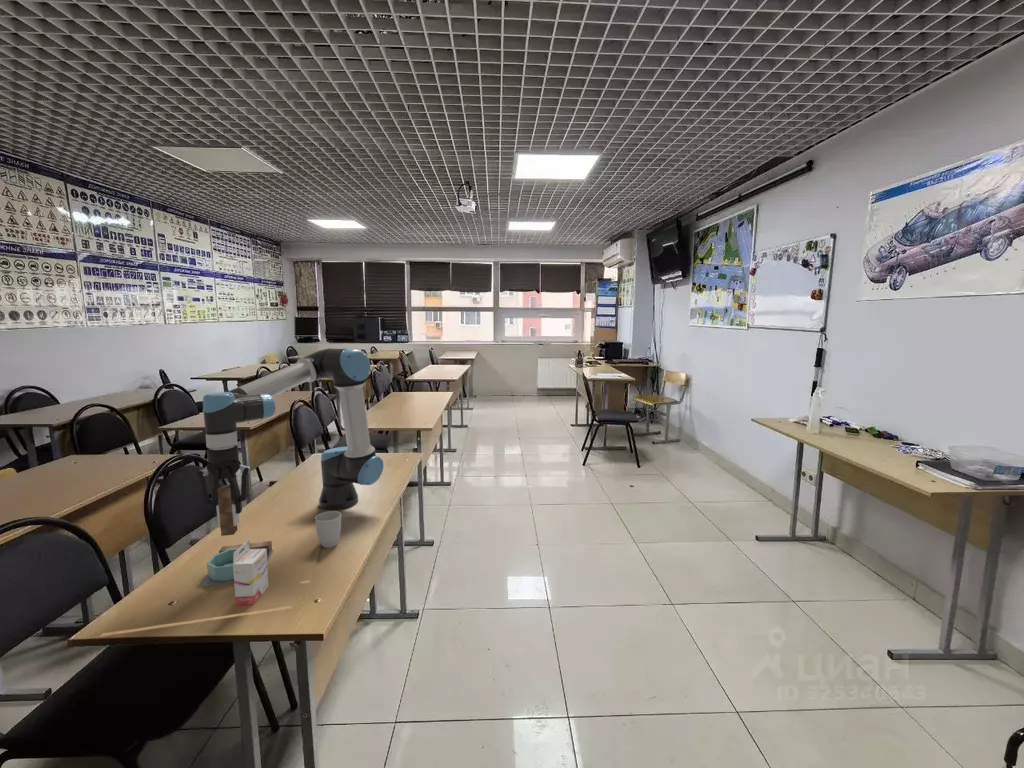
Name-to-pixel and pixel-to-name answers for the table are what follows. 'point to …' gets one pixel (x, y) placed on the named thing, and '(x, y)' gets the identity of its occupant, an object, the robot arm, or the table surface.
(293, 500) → the table surface
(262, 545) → the long wooden bar
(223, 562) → the teal octagonal bowl
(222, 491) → the brown wooden block
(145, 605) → the table surface
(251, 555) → the ink cartridge box
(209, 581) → the slate board
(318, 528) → the cup
